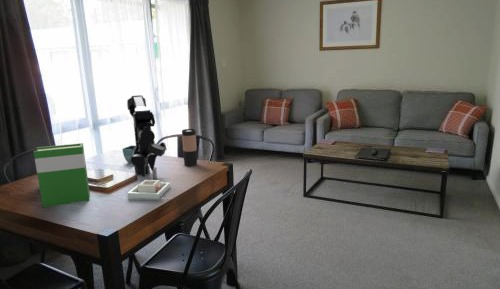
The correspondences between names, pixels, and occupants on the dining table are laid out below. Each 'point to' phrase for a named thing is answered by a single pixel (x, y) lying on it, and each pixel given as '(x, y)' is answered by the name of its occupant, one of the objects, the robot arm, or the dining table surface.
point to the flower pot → (128, 153)
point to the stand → (156, 176)
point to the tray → (148, 196)
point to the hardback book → (62, 174)
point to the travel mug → (189, 147)
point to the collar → (149, 186)
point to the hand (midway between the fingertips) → (148, 172)
